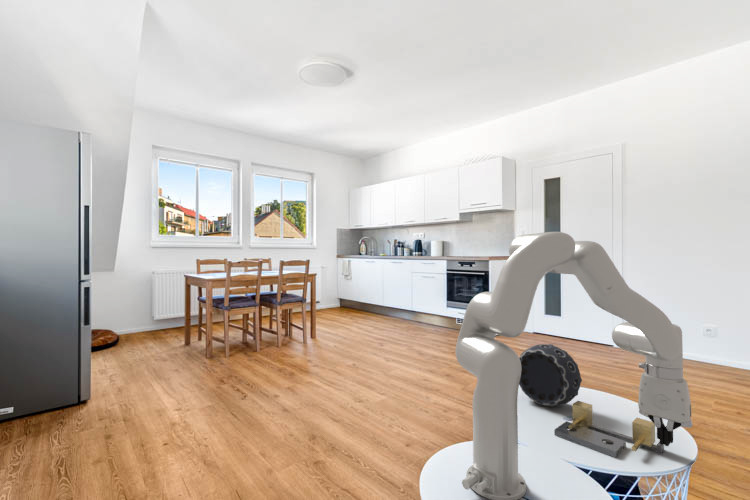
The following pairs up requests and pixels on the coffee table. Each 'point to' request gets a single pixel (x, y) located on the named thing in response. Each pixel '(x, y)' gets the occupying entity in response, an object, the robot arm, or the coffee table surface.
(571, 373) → the dark grey wheel
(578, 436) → the flange plate
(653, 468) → the coffee table surface
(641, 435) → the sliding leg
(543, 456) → the coffee table surface
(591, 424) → the dividers bar
